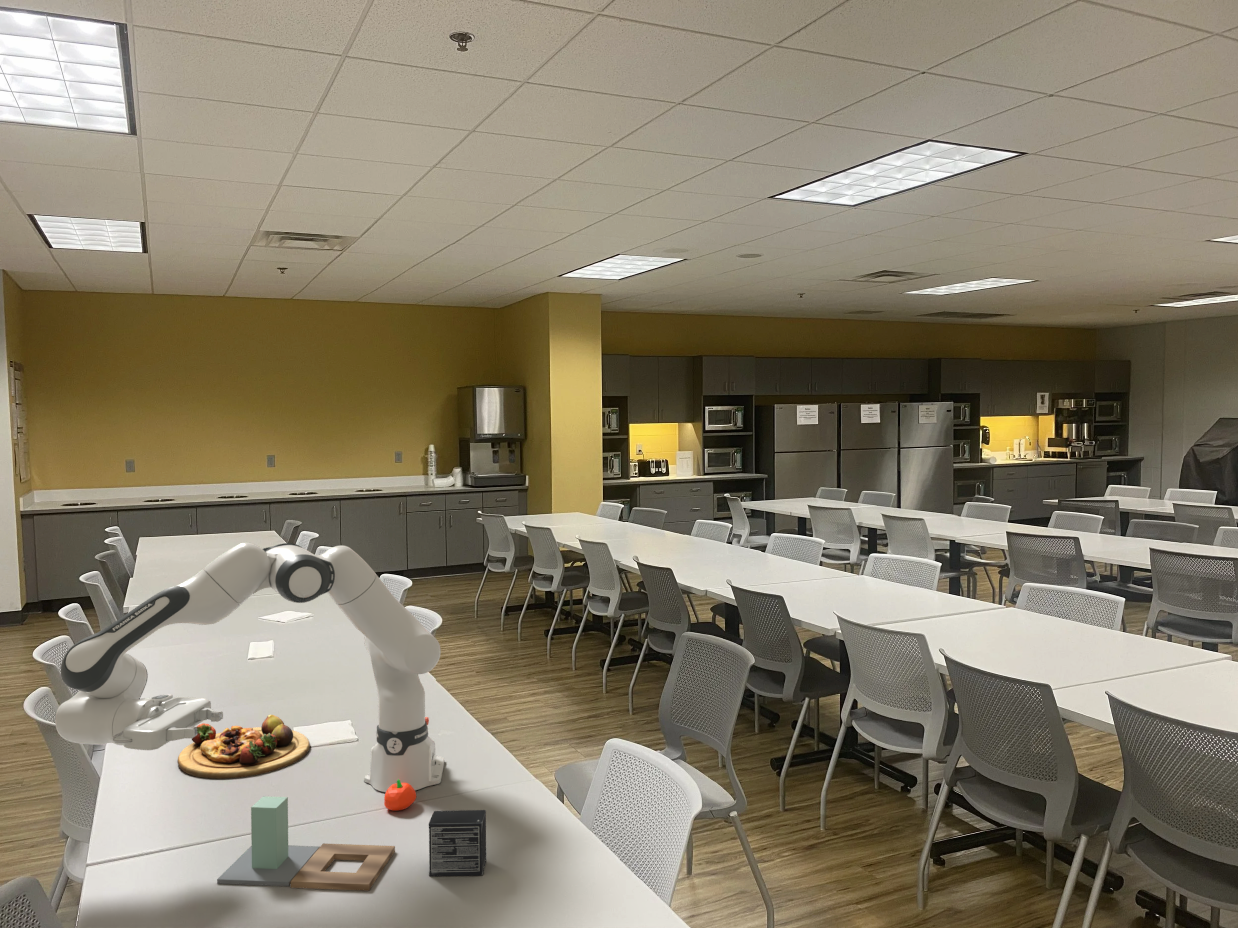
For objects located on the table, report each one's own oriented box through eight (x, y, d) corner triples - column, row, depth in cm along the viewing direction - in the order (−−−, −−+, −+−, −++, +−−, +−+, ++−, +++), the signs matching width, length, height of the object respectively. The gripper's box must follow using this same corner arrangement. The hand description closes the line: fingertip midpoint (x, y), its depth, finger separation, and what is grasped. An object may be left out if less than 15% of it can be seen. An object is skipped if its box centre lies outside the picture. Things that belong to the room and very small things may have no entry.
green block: (264, 855, 173) (263, 796, 173) (288, 856, 173) (287, 796, 173) (251, 867, 168) (251, 807, 168) (276, 868, 168) (276, 807, 168)
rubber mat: (253, 847, 178) (253, 843, 178) (319, 850, 177) (319, 846, 177) (217, 883, 164) (217, 878, 164) (289, 885, 163) (289, 881, 163)
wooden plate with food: (149, 765, 222) (149, 733, 222) (253, 726, 251) (253, 698, 250) (234, 792, 208) (234, 758, 207) (335, 748, 236) (335, 718, 235)
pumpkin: (385, 819, 193) (381, 791, 192) (385, 804, 201) (381, 777, 200) (418, 811, 195) (414, 783, 194) (416, 796, 202) (413, 770, 202)
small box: (487, 859, 174) (487, 807, 173) (483, 876, 167) (483, 822, 167) (434, 860, 173) (433, 808, 173) (428, 877, 167) (427, 823, 167)
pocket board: (323, 848, 178) (323, 843, 178) (394, 851, 177) (394, 845, 177) (290, 887, 163) (290, 881, 163) (368, 890, 162) (368, 884, 162)
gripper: (106, 724, 161) (178, 726, 160) (170, 691, 181) (234, 692, 180) (106, 757, 161) (178, 759, 160) (170, 721, 182) (234, 722, 181)
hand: (208, 724), depth 170 cm, fingers open, 8 cm apart
